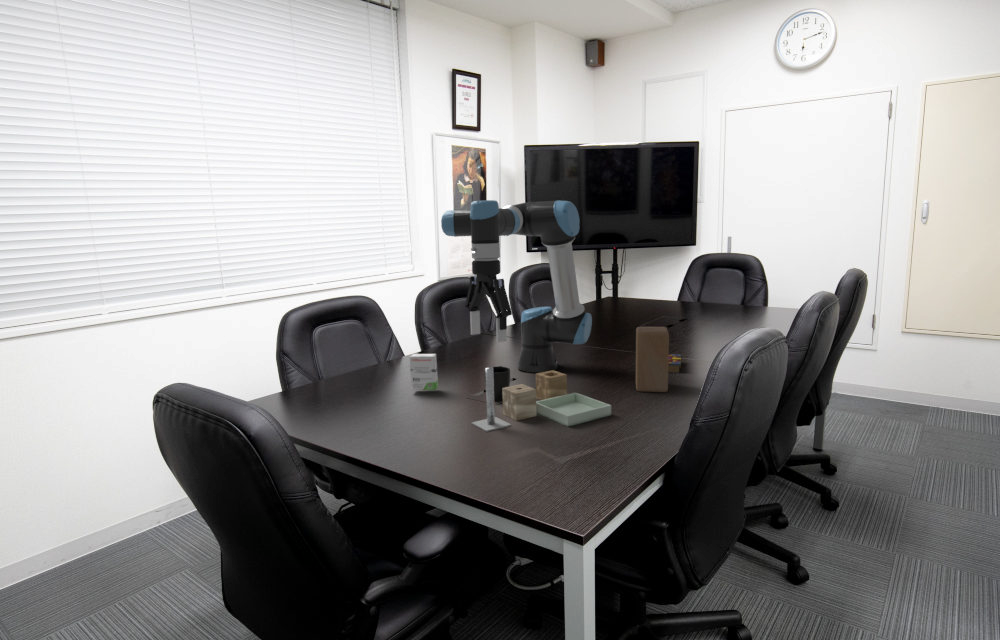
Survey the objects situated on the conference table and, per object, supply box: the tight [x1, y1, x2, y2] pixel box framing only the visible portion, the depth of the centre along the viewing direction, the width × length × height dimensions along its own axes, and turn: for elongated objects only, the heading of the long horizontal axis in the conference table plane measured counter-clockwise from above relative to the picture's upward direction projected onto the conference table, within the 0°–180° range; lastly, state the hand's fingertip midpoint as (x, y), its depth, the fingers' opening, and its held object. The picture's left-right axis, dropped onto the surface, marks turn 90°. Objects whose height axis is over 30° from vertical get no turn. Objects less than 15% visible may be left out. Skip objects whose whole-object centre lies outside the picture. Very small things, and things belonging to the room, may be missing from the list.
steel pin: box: [484, 366, 496, 425], centre depth 165 cm, size 2×2×16 cm
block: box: [635, 326, 670, 393], centre depth 195 cm, size 10×10×20 cm
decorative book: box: [668, 353, 682, 374], centre depth 221 cm, size 11×16×5 cm
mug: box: [483, 365, 511, 402], centre depth 192 cm, size 8×12×10 cm
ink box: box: [409, 353, 439, 391], centre depth 204 cm, size 9×5×12 cm, turn 85°
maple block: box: [502, 383, 537, 422], centre depth 173 cm, size 7×7×8 cm
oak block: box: [535, 370, 568, 401], centre depth 188 cm, size 7×7×8 cm
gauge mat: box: [471, 416, 512, 433], centre depth 166 cm, size 8×8×1 cm
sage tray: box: [536, 392, 612, 428], centre depth 174 cm, size 16×16×3 cm
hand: (488, 337), depth 162 cm, fingers open, 13 cm apart
